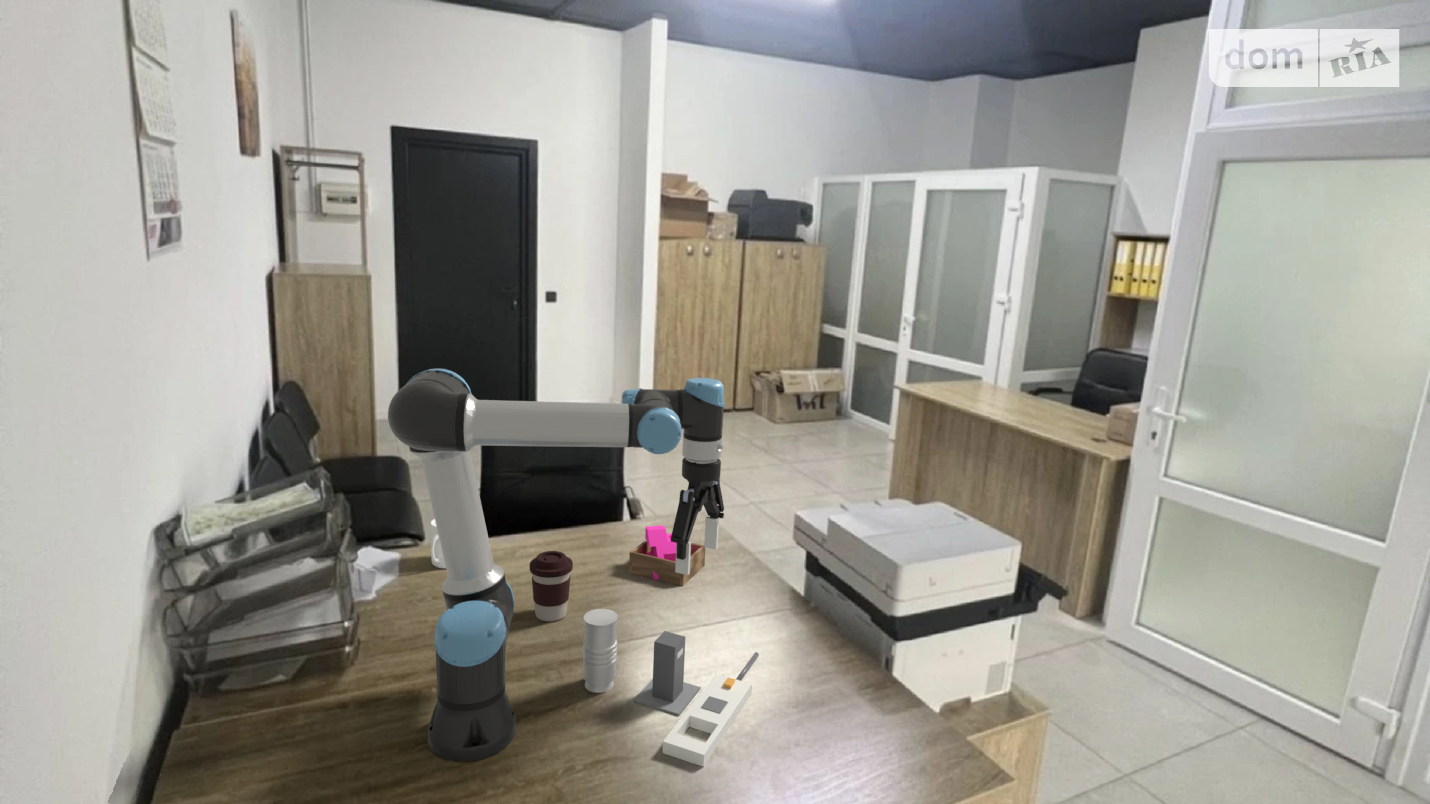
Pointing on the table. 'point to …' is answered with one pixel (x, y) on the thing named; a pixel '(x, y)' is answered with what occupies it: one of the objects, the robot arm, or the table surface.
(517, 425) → the robot arm
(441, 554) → the mug
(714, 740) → the power strip
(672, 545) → the bracket
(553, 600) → the coffee cup
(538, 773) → the table surface
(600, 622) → the grey ribbed canister
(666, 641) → the block
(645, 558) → the display box
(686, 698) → the mat
